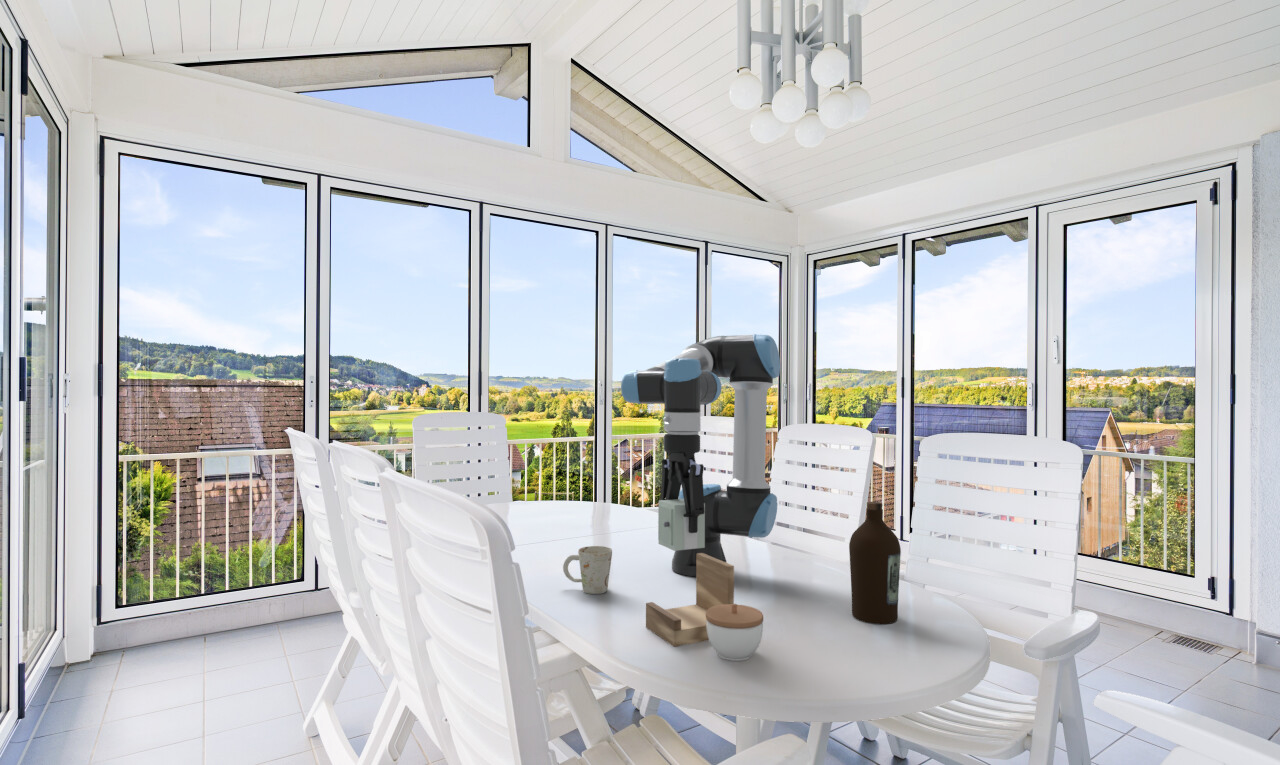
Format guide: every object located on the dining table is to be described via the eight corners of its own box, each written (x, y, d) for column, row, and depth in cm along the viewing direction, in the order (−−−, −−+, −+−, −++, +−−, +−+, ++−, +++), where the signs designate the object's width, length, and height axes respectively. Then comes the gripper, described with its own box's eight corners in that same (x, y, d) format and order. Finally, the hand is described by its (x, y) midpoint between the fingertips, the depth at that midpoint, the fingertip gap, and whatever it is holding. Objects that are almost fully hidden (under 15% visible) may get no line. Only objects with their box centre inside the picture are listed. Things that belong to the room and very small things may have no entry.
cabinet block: (687, 540, 142) (687, 498, 143) (704, 547, 136) (704, 503, 136) (653, 544, 139) (653, 500, 139) (669, 551, 133) (669, 505, 133)
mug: (607, 596, 160) (607, 554, 160) (557, 593, 162) (557, 552, 162) (615, 586, 168) (615, 546, 168) (567, 583, 170) (567, 544, 170)
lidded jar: (700, 644, 130) (701, 596, 130) (755, 643, 131) (755, 595, 131) (711, 667, 119) (711, 614, 119) (770, 665, 120) (770, 613, 120)
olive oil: (842, 619, 145) (842, 503, 145) (857, 606, 153) (858, 497, 154) (893, 629, 139) (893, 508, 139) (906, 615, 147) (906, 502, 148)
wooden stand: (702, 617, 145) (702, 552, 146) (733, 635, 135) (733, 565, 135) (645, 627, 139) (646, 559, 139) (674, 646, 128) (674, 573, 129)
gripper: (644, 431, 146) (643, 536, 145) (690, 436, 128) (689, 556, 127) (675, 430, 149) (674, 534, 148) (723, 435, 131) (722, 553, 130)
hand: (681, 544), depth 138 cm, fingers closed on cabinet block, 7 cm apart
